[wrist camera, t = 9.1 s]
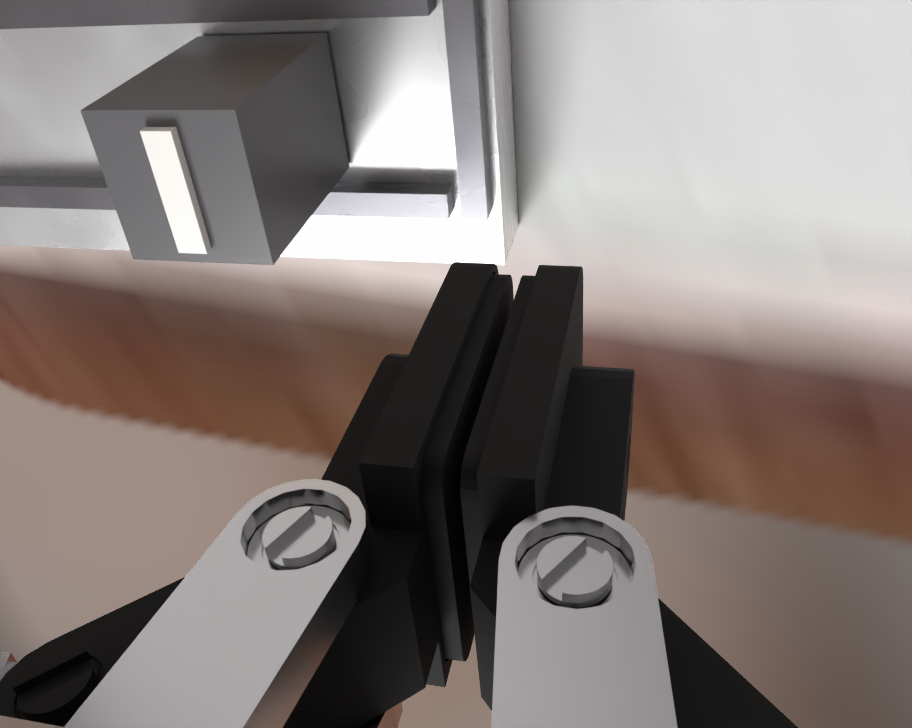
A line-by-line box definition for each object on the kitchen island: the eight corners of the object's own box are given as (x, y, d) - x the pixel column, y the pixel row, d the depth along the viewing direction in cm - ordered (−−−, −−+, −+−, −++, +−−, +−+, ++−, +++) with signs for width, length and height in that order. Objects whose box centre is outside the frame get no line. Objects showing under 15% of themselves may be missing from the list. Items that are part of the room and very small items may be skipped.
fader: (198, 36, 18) (73, 114, 15) (326, 32, 18) (229, 114, 14) (231, 165, 20) (127, 264, 16) (349, 167, 19) (269, 270, 16)
